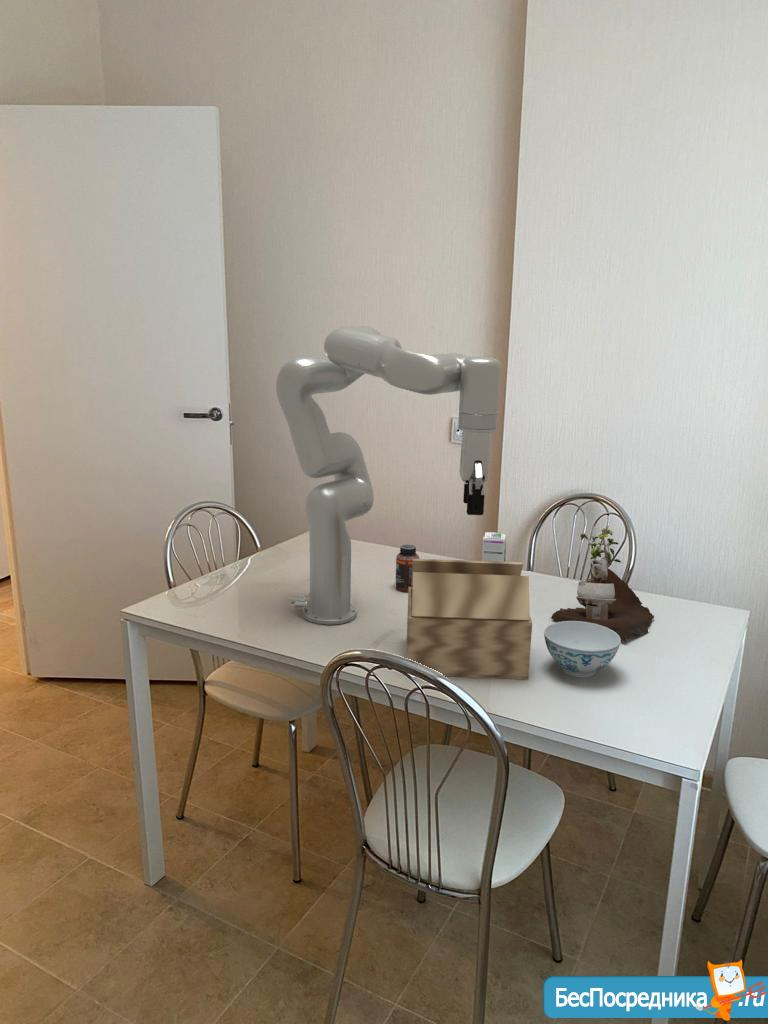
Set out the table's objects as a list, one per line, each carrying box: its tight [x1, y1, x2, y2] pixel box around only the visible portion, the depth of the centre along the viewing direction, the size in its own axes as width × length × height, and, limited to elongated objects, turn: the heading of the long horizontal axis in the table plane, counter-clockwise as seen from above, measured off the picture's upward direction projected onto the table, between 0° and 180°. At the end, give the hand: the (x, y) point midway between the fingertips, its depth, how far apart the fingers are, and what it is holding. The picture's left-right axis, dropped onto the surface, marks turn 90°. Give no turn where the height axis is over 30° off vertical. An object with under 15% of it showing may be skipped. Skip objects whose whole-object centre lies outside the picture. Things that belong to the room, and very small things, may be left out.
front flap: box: [412, 572, 531, 620], centre depth 162 cm, size 23×9×1 cm
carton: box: [406, 587, 533, 680], centre depth 171 cm, size 24×18×12 cm
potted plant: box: [550, 527, 655, 643], centre depth 194 cm, size 20×19×25 cm
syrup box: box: [481, 531, 507, 562], centre depth 212 cm, size 6×6×14 cm
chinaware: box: [543, 621, 622, 678], centre depth 167 cm, size 15×15×8 cm
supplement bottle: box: [395, 544, 420, 593], centre depth 211 cm, size 6×6×11 cm
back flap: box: [411, 558, 524, 585], centre depth 175 cm, size 23×9×1 cm
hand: (473, 508), depth 164 cm, fingers open, 8 cm apart
